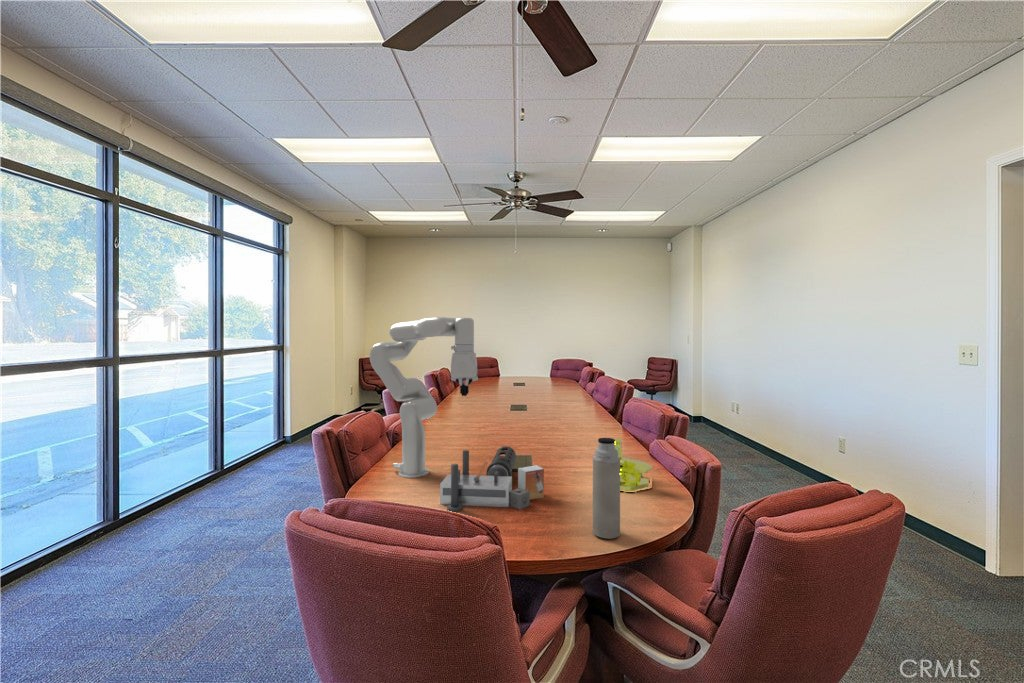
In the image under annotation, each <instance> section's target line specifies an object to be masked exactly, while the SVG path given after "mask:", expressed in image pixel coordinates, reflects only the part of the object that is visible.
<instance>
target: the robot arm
mask: <svg viewBox="0 0 1024 683" xmlns="http://www.w3.org/2000/svg"><path fill="white" fill-rule="evenodd" d="M389 336H390V338H391V340H393V341H382V342H378V343H376V344H374V345H372V346H371V348H370V352H369V362H370V365H371V367H372V369H373V370H374V372H375V373H376V375H378V377H379V378H380V379H381V381H382V382H383V384H384V386H385V388H386V389H387V390H388V392H389V394H390V395H391V396H392V398H393V400H395V401H397V402H402V404H401V405H400V408H399V418H400V423H401V441H402V442H401V444H402V445H401V447H402V448H401V451H402V453H401V456H402V457H401V459H402V461H401V462H400V463H399V462H395V463H394V462H393V463H392V464H393V465H392V467H393V469H394V470H398V472H397V473H398V477H401V478H405V479H416V477H417V478H422V477H425V476H427V475H429V472H430V470H429V468H427V467H426V430H425V426H424V424H423V422H422V421H424V420H428V419H430V418H432V417H434V416H436V414H437V412H438V405H437V402H436V400H435V397H433V395H432V394H431V392H430V391H429V389H428V388H427V386H426V385H425V383H424V382H423V381H422V380H421V379H420V378H417V377H408V378H407V377H405V376H404V375H403V374H402V372H401V370H400V369H399V368H398V367H397V365H395V364H393V363H392V362H396V361H403V360H405V359H406V358H407V357H408V356H409V355H410V353H411V352H412V350H413V349H414V348H415V346H416V345H417V343H418V342H419V341H424V340H425V339H426V338H434V337H454V345H452V346H451V347H450V349H451V351H453V350H454V351H453V352H452V355H451V361H450V362H451V363H450V380H451V381H453V382H456V383H457V384H458V385H459V386H460V387H459V393H460V394H461V396H462V397H467V396H468V395H469V389H470V388H469V387H470V386H469V385H470V384H472V383H473V382H476V381H478V380H479V377H478V374H479V373H478V371H479V370H478V359H477V353H476V352H475V321H474V319H473V318H472V317H458V318H456V317H445V316H443V317H441V316H436V317H428V318H422V319H416V320H411V321H410V320H409V321H401V322H396V323H394V324H393V325H391V327H390V328H389ZM464 379H465V383H464ZM421 476H422V477H421Z"/></svg>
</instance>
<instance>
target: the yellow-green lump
mask: <svg viewBox="0 0 1024 683" xmlns="http://www.w3.org/2000/svg"><path fill="white" fill-rule="evenodd" d="M612 439H615V443H614V444H615V449H616V450H617V451H618V457H619V458H620V490H625V491H635V490H638V489H642V488H645V487H648V486H649V478H647V477H642V475H643V474H647V473H648V472H649V471H650V470H652V468H653V466H652V465H651V464H649V463H648V462H647V461H642V460H638V459H632V458H627V457H623V445H622V444H623V443H622V442H623V440H622V439H621V438H612ZM641 477H642V478H641Z"/></svg>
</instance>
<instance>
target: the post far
mask: <svg viewBox="0 0 1024 683" xmlns="http://www.w3.org/2000/svg"><path fill="white" fill-rule="evenodd" d="M462 475H470V450H468V449H465V450H462Z"/></svg>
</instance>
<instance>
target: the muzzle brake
mask: <svg viewBox="0 0 1024 683" xmlns="http://www.w3.org/2000/svg"><path fill="white" fill-rule="evenodd" d="M504 455H505V456H504ZM516 459H517V454H516V451H515V450H514V449H513V448H512V447H510V446H507V445H504V446H500V447H499V448H498V450H496V453H495V455H494V457H493V459H491V463H490V464H488V467H487V469H486V472H485V474H486V475H485V476H494V474H495V472H496V471H498V476H510V477H512V472H513V468H514V466H515V462H516Z"/></svg>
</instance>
